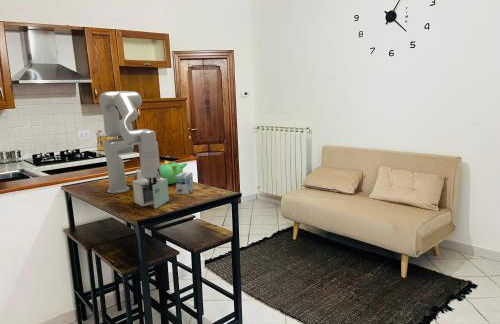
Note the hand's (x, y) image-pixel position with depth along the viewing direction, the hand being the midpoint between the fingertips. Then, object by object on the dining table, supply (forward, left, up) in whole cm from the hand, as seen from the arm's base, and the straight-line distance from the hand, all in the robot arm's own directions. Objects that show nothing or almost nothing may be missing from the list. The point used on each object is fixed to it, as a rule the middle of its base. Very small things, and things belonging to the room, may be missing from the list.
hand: (153, 190), depth 193 cm
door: (+2, +4, -8) cm, 9 cm away
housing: (-9, +2, -9) cm, 12 cm away
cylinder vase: (-59, +26, -9) cm, 65 cm away
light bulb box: (-12, +25, -9) cm, 29 cm away
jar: (-23, +7, -9) cm, 25 cm away
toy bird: (-36, +29, -9) cm, 47 cm away
